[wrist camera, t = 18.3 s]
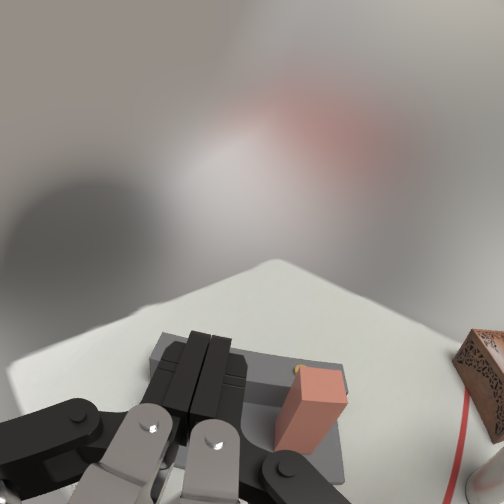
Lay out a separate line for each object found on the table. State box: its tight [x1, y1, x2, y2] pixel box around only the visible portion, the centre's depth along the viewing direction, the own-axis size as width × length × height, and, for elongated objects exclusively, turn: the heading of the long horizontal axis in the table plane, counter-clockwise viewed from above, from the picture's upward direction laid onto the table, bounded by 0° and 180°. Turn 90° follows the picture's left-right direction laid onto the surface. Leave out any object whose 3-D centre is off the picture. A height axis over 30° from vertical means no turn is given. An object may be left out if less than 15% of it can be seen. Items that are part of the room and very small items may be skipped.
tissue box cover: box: [452, 329, 504, 444], centre depth 39 cm, size 26×14×10 cm, turn 175°
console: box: [149, 332, 348, 485], centre depth 34 cm, size 28×19×7 cm
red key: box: [274, 366, 348, 454], centre depth 31 cm, size 5×5×12 cm
